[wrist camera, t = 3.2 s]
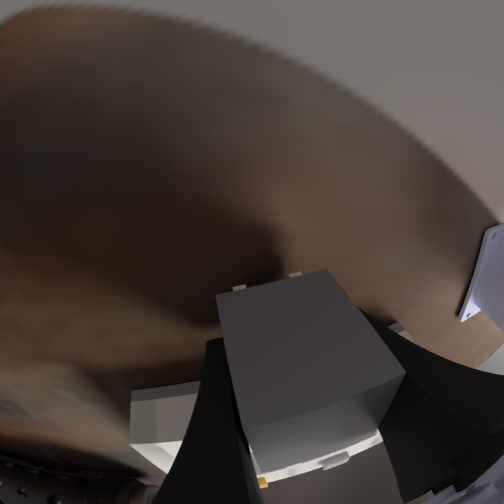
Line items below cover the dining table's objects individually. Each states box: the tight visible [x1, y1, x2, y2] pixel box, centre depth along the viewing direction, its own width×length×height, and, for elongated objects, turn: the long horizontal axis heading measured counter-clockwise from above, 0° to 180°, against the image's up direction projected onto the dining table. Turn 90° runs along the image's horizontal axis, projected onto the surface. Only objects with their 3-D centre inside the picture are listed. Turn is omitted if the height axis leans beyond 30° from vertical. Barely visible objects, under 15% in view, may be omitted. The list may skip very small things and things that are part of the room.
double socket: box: [129, 322, 418, 488], centre depth 15 cm, size 16×12×4 cm
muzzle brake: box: [0, 454, 160, 504], centre depth 14 cm, size 10×28×10 cm, turn 97°
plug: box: [215, 269, 406, 473], centre depth 9 cm, size 4×4×6 cm
